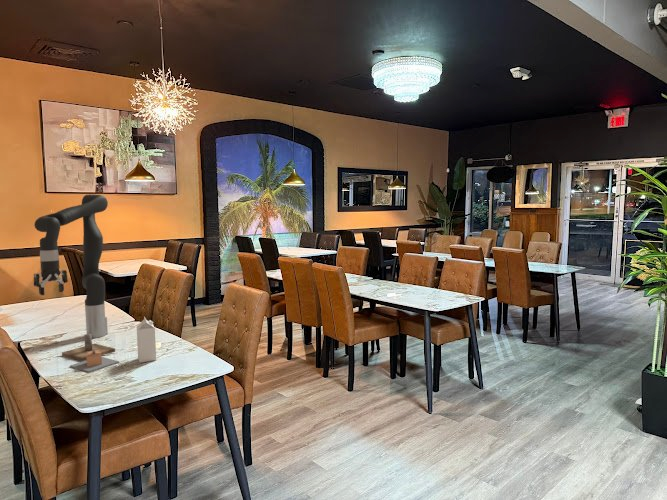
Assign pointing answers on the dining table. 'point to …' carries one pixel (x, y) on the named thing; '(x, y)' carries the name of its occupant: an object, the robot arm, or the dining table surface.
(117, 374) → the dining table surface
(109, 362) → the mat
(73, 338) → the dining table surface
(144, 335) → the milk carton
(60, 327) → the dining table surface
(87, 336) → the brown board
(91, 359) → the tan cube with tab
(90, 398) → the dining table surface
